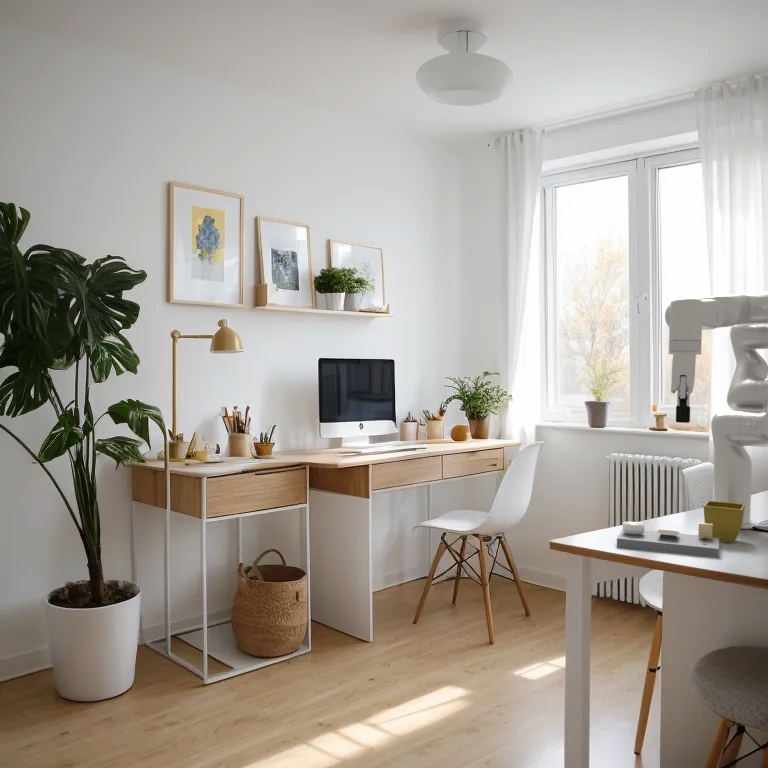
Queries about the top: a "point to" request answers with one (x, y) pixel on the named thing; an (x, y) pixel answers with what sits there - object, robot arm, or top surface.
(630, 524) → the push button
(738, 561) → the top surface
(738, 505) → the flower pot
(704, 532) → the cream small block
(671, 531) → the rocker
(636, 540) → the switch panel
